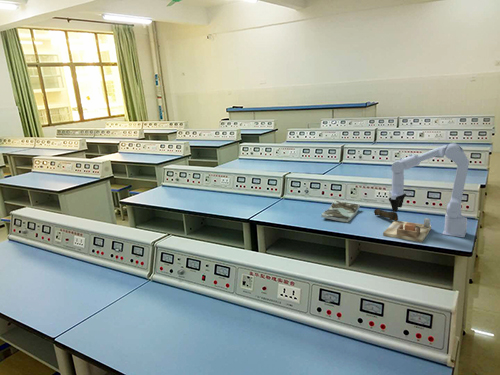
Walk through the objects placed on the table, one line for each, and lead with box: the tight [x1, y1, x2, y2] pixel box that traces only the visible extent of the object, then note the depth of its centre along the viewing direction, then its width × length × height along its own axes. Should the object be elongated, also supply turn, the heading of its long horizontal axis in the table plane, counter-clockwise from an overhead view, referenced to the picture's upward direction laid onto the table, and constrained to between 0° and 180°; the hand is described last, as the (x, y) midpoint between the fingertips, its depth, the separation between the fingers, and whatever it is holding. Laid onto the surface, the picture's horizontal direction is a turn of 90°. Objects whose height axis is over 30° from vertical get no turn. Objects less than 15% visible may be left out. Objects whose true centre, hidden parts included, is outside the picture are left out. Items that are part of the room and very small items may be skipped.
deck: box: [382, 220, 432, 243], centre depth 186 cm, size 18×20×5 cm
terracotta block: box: [405, 222, 416, 231], centre depth 182 cm, size 4×4×4 cm
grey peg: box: [423, 217, 431, 228], centre depth 187 cm, size 3×3×4 cm
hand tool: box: [373, 208, 399, 222], centre depth 205 cm, size 19×4×5 cm, turn 13°
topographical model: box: [320, 200, 360, 223], centre depth 220 cm, size 26×15×5 cm, turn 150°
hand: (397, 209), depth 192 cm, fingers open, 7 cm apart
